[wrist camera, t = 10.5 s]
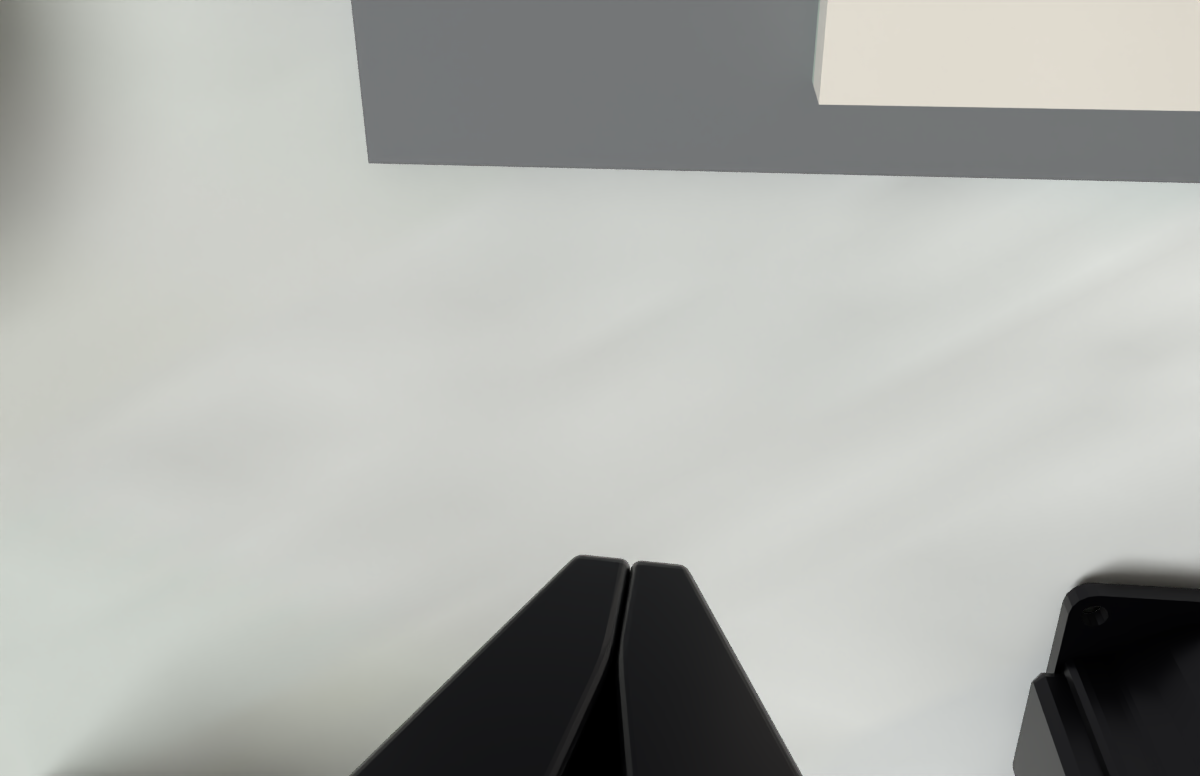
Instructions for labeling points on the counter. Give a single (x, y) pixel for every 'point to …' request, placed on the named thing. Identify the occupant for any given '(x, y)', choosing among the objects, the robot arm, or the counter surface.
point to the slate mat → (699, 99)
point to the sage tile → (1009, 54)
